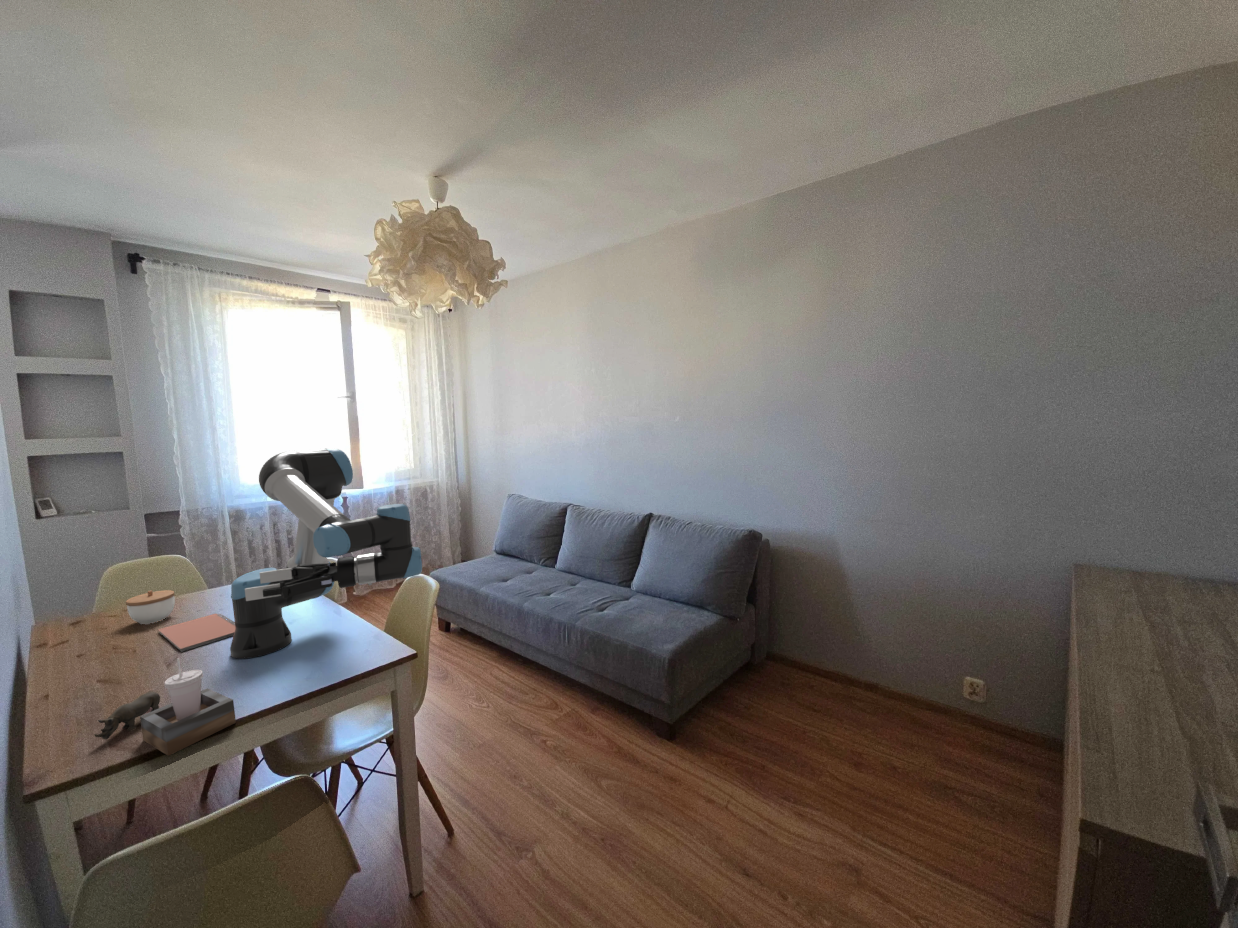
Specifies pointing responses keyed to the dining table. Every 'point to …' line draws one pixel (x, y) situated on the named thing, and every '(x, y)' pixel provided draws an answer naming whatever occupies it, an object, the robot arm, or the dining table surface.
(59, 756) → the dining table surface
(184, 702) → the smoothie
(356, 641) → the dining table surface
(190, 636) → the notebook
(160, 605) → the lidded bowl
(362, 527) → the robot arm
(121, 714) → the rhino figurine
